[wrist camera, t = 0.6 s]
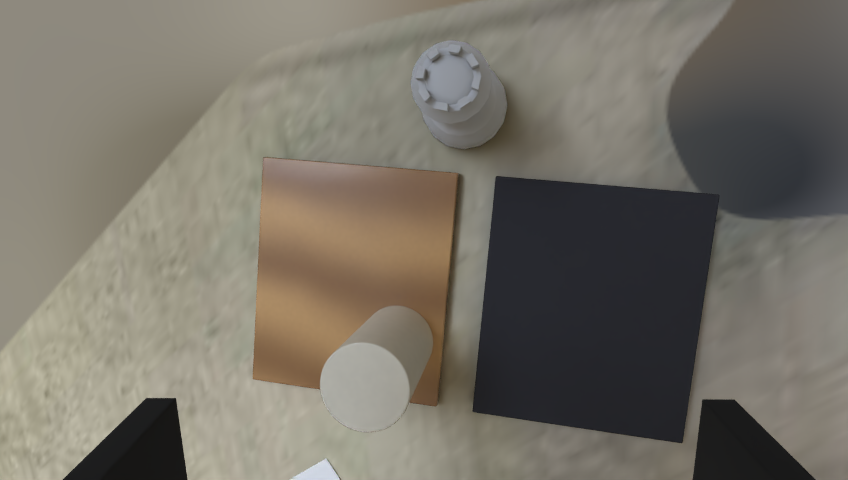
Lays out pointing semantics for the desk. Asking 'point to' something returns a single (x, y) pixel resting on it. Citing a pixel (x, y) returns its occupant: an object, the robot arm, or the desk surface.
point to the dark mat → (593, 305)
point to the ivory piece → (377, 369)
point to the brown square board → (348, 261)
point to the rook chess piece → (458, 94)
